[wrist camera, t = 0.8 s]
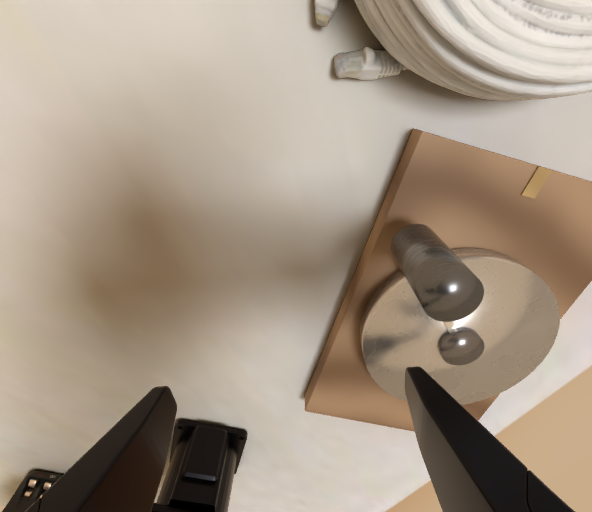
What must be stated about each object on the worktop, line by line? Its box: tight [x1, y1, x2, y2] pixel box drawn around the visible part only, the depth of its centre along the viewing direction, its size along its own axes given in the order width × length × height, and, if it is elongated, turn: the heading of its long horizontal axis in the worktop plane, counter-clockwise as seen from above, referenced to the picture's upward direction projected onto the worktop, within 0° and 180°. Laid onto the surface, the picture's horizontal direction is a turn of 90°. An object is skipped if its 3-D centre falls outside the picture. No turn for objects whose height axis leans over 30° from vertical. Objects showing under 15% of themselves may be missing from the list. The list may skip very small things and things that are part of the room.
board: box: [305, 129, 592, 431], centre depth 23 cm, size 22×14×2 cm, turn 165°
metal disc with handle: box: [360, 224, 560, 405], centre depth 18 cm, size 15×12×6 cm
